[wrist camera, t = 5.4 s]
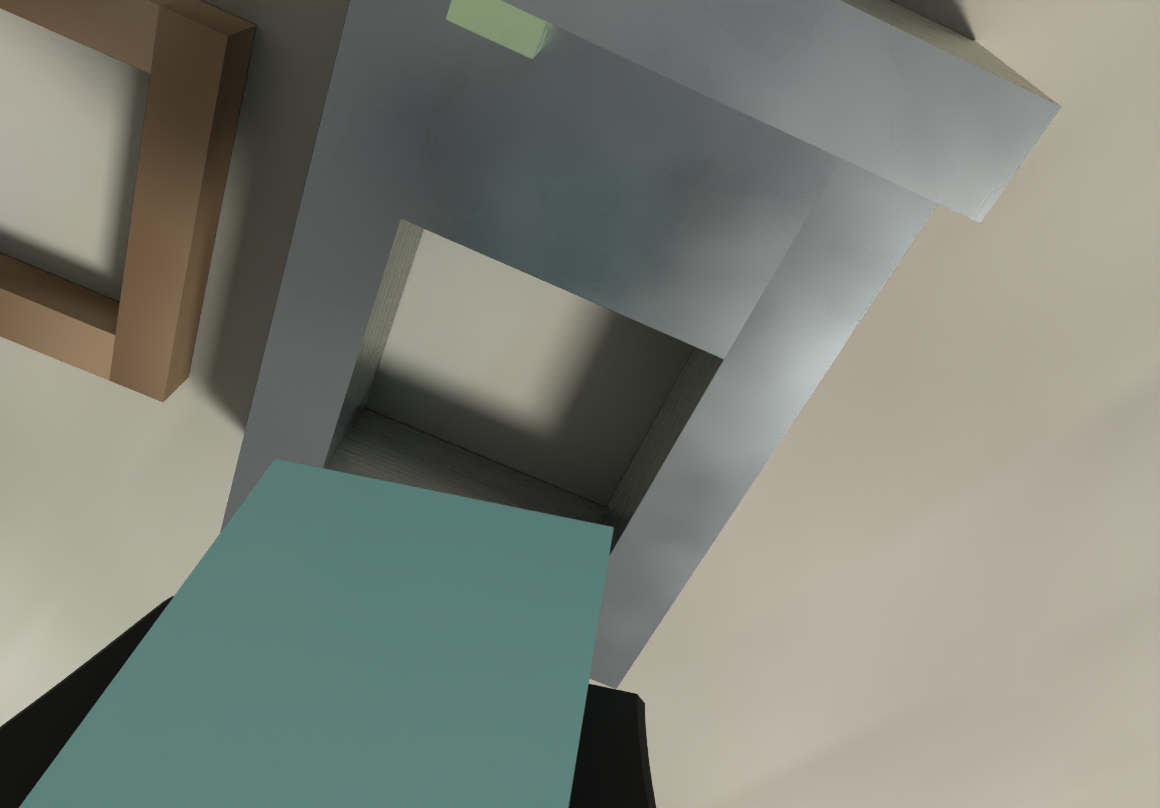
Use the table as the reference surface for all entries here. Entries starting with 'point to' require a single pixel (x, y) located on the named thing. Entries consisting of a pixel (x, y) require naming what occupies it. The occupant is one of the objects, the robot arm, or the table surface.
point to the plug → (354, 659)
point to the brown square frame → (145, 193)
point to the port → (627, 228)
